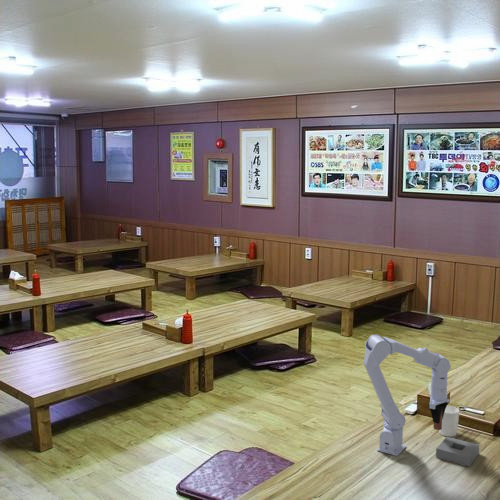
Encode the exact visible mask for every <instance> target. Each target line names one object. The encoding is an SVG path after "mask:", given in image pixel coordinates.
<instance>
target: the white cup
mask: <svg viewBox="0 0 500 500" xmlns="http://www.w3.org/2000/svg"><path fill="white" fill-rule="evenodd" d="M459 419H460V409H459V408H457V407H455V406H453V405H447V407H446V409H445V412H444V416H443V419H442V429H441V430H438V432H439V434H440V435H441V436H444V437H450V438H454V437H456V436H457V434H458V428H459Z"/></svg>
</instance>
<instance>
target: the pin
mask: <svg viewBox="0 0 500 500" xmlns="http://www.w3.org/2000/svg"><path fill="white" fill-rule="evenodd" d="M433 429H434V430H436V431H439V430H441V429H442V413H441V417H440V422H439V423H434V422H433Z"/></svg>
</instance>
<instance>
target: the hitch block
mask: <svg viewBox="0 0 500 500" xmlns="http://www.w3.org/2000/svg"><path fill="white" fill-rule="evenodd" d="M435 449H436V450H435V458H437V459H440V460H444V461H446V462H447V461H448V462H450V463H454V464H459V465H462V466H465V467H471V465H472V464H473V462H474V461H475V460H476V458H477V457H478V456H479V454H480V444H479V443H478V444H477V443H474V442H470V441H465V440H462V439H457V438H454V437H448V436H445V438H444V439H443V440H442V442H440V444H439V445H438V446H437V447H436V448H435Z"/></svg>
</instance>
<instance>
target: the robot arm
mask: <svg viewBox="0 0 500 500" xmlns="http://www.w3.org/2000/svg"><path fill="white" fill-rule="evenodd" d="M364 348H365V350H364V357H363V358H364V359H363V365H364V367H365V369H366V373H367V374H368V377H369V379H370V381H371V384H372V386H373V389H374V391H375V394H376V396H377V398H378V401H379V402H380V408H381V409H380V410H381V417H382V418H383V419H384V420H383V427H382V428H383V429H382V431H381V432H380V434H379V447H378V448H377V449H376V451H378V452H381V453H383V454H388V455H392V456H395V457H397V456H399V455H400V454H401V453H402V452H403V451H404V450H405V449H406V448H407V445H406V444H403V437H404V436H403V435H404V434H403V431H404V426H405V424H406V420H407V419H406V417H405V415H403V413H401V412H400V409H399V408H398V406H397V404H396V402H395V401H394V399H393V396H392V393H391V391H390V388H389V386H388V384H387V382H386V379H385V376H384V374H383V372H382V370H381V368H380V365H381V363H382V362H383V361H384V360H385V359H386V358H387V357H388V356H389V355H394V354H395V353H399V354H400V355H401V354H402V355H404V356H407V357H410V358H412V359H413V361H414V362H415V363H417V364H419V365H421V366H425V367H427V368H430V369H431V380H430V383H431V384H430V399H429V403H428V404H427V406H428V409H429V410H430V413H431V414H430V415H431V418H432V422H433V424H434V423H439V422H440V417H441V413H442V419H443V416H444V412H445V409H446V407H447V406H449V402H450V399H449V398H448V373H449V371H450V369H451V366H452V365H451V362H450V360H449V359H447V358H446V357H445V356H443V355H441V353H439V352H432V351H430V350H429V349H428V348H427V347H426V346H425V347H418V348H414V347H412V346H409V345H406V344H405V343H402V342H399V341H397V340H395V339H393V338H389V337H387V336H383V335H382V336H381V335H380V334H371V335H369V337H368V338H367V340H366V341H365V344H364Z"/></svg>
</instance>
